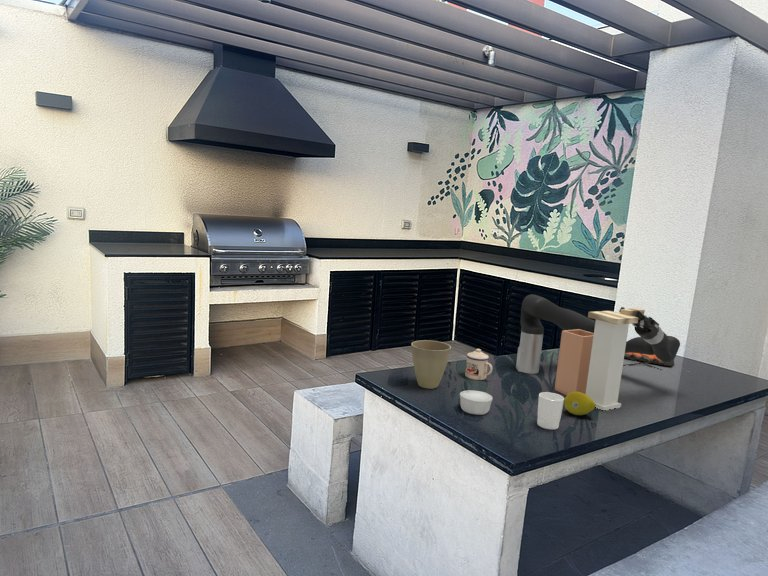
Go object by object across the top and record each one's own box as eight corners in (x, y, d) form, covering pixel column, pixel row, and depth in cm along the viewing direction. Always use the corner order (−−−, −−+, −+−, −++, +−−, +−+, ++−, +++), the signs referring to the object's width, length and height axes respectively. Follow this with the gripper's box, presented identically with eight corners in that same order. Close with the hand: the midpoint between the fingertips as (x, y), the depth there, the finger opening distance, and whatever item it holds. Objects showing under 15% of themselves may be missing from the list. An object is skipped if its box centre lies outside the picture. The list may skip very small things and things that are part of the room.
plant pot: (436, 378, 222) (440, 339, 220) (453, 391, 208) (457, 350, 206) (402, 380, 217) (405, 340, 214) (417, 393, 203) (421, 350, 201)
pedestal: (597, 398, 213) (609, 316, 208) (620, 407, 205) (633, 322, 200) (580, 401, 208) (591, 317, 203) (603, 411, 199) (615, 323, 194)
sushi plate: (674, 363, 277) (675, 356, 277) (668, 377, 252) (670, 369, 251) (612, 351, 292) (613, 344, 292) (601, 363, 267) (602, 355, 266)
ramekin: (468, 401, 199) (470, 387, 198) (497, 410, 192) (498, 396, 191) (452, 409, 190) (453, 394, 189) (480, 419, 183) (482, 403, 182)
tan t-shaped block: (625, 314, 215) (626, 305, 214) (654, 321, 205) (655, 312, 204) (587, 317, 203) (589, 307, 203) (616, 324, 193) (617, 314, 192)
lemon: (557, 411, 196) (560, 389, 194) (569, 407, 201) (572, 386, 199) (585, 422, 187) (588, 399, 186) (597, 417, 192) (600, 395, 191)
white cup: (543, 431, 177) (547, 401, 175) (530, 421, 184) (534, 392, 183) (565, 430, 179) (569, 400, 178) (551, 420, 187) (555, 391, 185)
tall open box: (571, 387, 224) (579, 329, 220) (592, 395, 216) (600, 335, 212) (554, 390, 219) (562, 330, 215) (574, 398, 211) (583, 336, 207)
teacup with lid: (459, 375, 228) (462, 348, 227) (473, 372, 235) (476, 345, 233) (483, 383, 220) (486, 355, 218) (497, 380, 226) (500, 352, 224)
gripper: (636, 318, 221) (616, 298, 212) (671, 326, 209) (651, 306, 200) (628, 335, 220) (607, 315, 211) (662, 344, 208) (642, 324, 199)
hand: (629, 311), depth 205 cm, fingers open, 6 cm apart
